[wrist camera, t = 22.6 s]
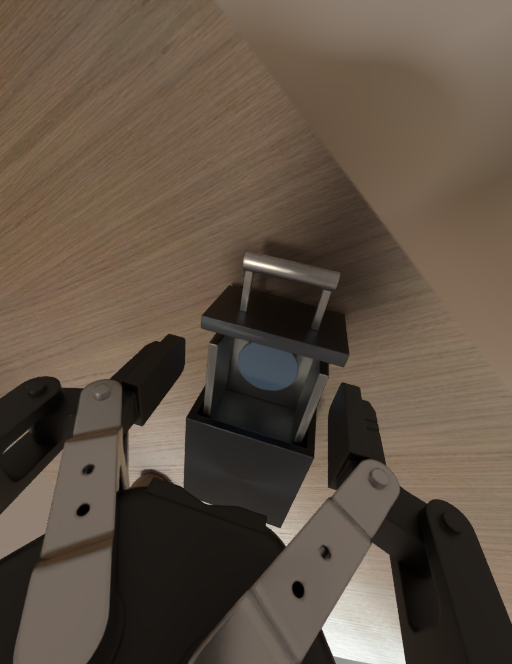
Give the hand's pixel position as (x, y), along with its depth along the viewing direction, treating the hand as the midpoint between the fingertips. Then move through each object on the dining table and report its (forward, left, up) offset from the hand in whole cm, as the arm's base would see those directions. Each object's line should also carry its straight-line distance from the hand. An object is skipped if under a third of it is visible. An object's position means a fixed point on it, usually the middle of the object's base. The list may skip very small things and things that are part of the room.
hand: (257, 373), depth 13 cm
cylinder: (+7, +4, -13) cm, 15 cm away
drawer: (+6, +3, -14) cm, 15 cm away
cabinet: (+18, +9, -15) cm, 25 cm away
